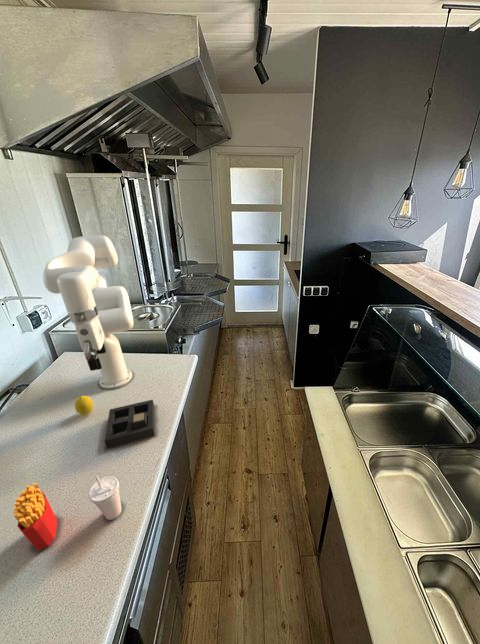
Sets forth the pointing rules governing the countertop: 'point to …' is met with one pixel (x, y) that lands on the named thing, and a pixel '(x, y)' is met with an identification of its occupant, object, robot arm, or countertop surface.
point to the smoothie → (106, 496)
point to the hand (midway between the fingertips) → (98, 360)
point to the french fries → (35, 517)
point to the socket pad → (129, 424)
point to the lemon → (84, 405)
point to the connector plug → (139, 420)
